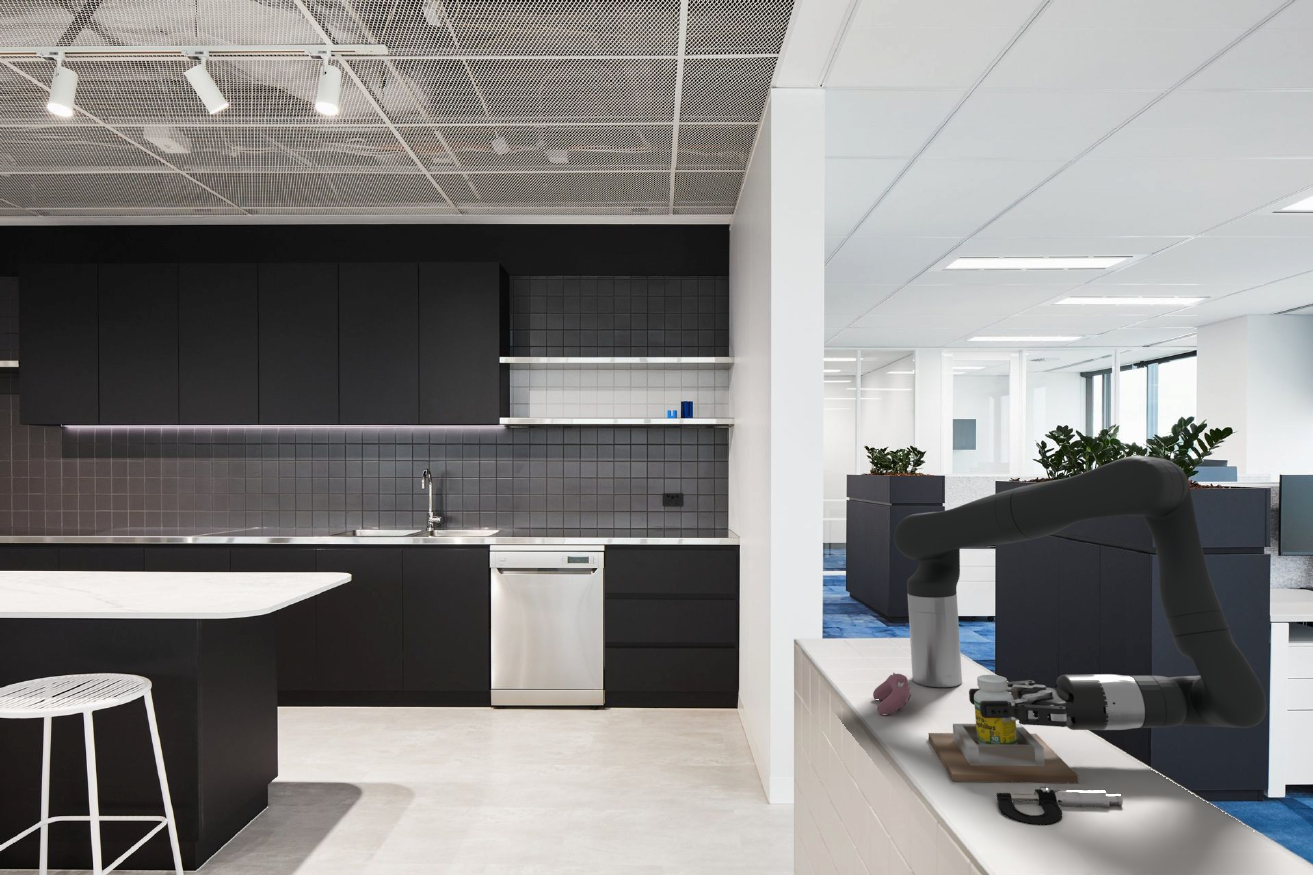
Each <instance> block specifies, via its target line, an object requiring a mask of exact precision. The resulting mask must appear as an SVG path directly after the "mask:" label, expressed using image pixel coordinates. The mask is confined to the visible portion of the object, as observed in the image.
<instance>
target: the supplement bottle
mask: <svg viewBox="0 0 1313 875" xmlns="http://www.w3.org/2000/svg"><path fill="white" fill-rule="evenodd" d="M976 680H977V686H978V688H980V690H978V691H977V692H976V693H975V694H974V714H975V724H976V730H977V740H978V743H979V744H1003V745H1017V731H1016V724H1017V722H1016V721H1017V720H1016V721H1015V720H1012V719H1010V717H1009V718H984V717H982V716H981V714H980V702H981V701H1007V702H1008V704H1009V701H1011V700H1014V698H1013V696H1012V695H1011V693H1009V692H1007V691H1006V690H1007V688H1008V685H1007V682H1008V679H1007V677H1004V676H1001V675H996V674H982V675H981V674H980V675H978V676H977V678H976Z"/></svg>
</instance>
